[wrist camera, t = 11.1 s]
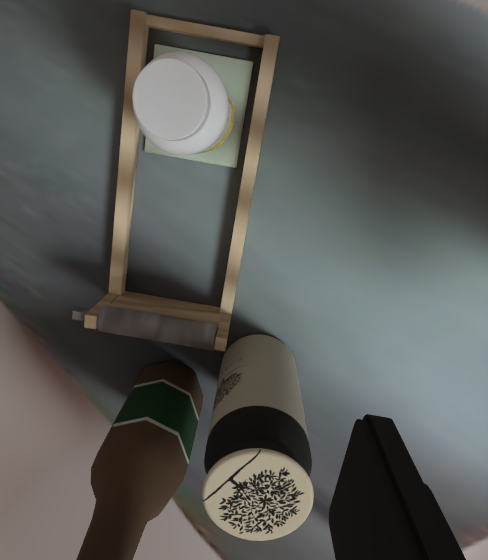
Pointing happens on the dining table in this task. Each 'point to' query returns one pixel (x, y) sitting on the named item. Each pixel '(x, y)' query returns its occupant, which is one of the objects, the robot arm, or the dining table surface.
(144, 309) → the frame
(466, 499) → the dining table surface
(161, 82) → the supplement bottle
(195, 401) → the beer bottle
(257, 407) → the travel mug
